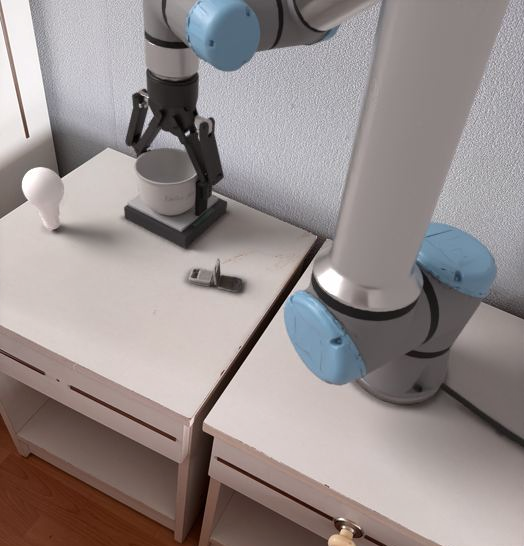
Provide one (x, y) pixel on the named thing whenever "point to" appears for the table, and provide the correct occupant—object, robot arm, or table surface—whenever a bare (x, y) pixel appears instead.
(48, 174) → the lightbulb
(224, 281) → the strap clip
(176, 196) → the teacup
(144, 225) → the scale
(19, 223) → the table surface
